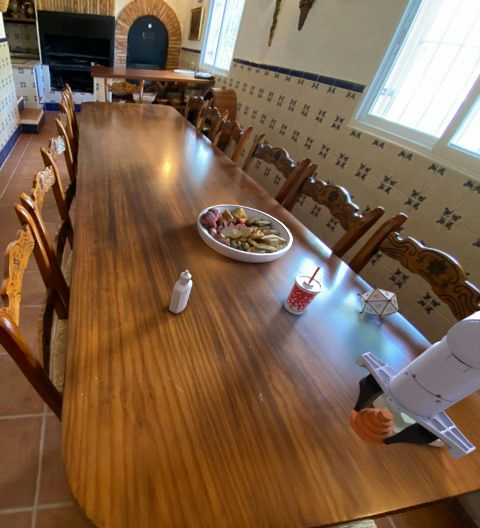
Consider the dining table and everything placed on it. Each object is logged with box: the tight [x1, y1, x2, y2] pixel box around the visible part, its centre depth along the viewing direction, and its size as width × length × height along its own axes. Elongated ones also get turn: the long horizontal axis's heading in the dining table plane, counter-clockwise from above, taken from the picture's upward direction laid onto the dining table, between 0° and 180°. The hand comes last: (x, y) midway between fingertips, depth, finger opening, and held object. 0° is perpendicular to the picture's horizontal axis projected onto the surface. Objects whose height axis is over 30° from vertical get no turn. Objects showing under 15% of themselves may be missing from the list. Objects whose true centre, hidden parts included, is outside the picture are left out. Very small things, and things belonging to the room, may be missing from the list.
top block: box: [382, 393, 416, 428], centre depth 55 cm, size 7×7×2 cm
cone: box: [348, 407, 393, 448], centre depth 47 cm, size 6×6×5 cm
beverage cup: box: [283, 266, 324, 315], centre depth 73 cm, size 6×6×14 cm
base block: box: [372, 395, 446, 448], centre depth 56 cm, size 9×9×2 cm
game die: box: [356, 284, 404, 322], centre depth 75 cm, size 9×8×10 cm
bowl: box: [196, 204, 293, 264], centre depth 98 cm, size 30×30×8 cm
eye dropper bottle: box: [168, 269, 193, 314], centre depth 71 cm, size 4×6×12 cm
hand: (373, 423), depth 47 cm, fingers closed on cone, 4 cm apart
